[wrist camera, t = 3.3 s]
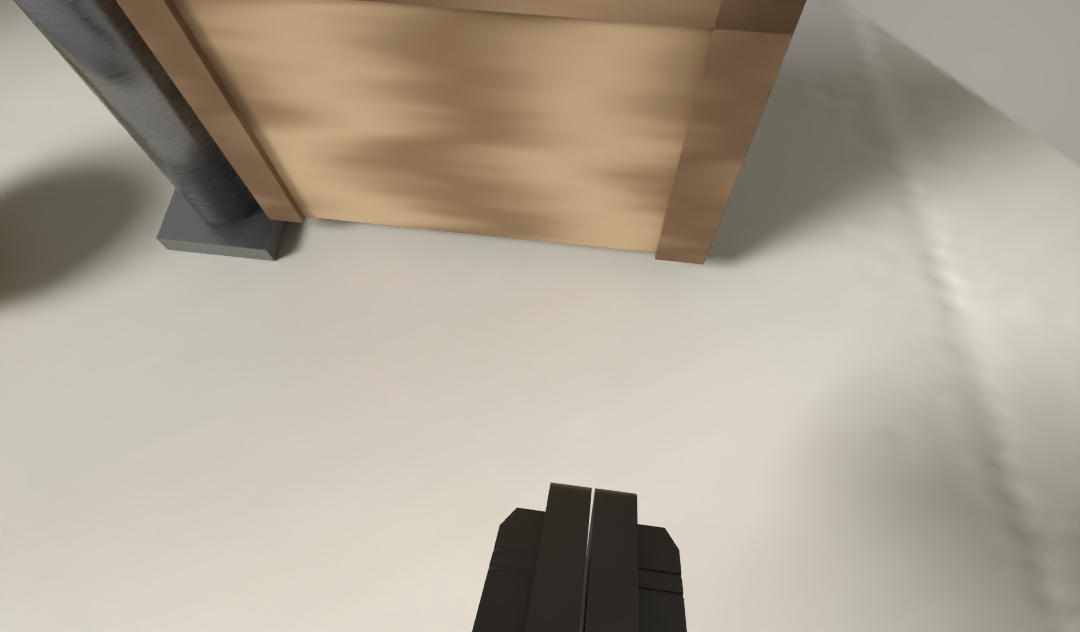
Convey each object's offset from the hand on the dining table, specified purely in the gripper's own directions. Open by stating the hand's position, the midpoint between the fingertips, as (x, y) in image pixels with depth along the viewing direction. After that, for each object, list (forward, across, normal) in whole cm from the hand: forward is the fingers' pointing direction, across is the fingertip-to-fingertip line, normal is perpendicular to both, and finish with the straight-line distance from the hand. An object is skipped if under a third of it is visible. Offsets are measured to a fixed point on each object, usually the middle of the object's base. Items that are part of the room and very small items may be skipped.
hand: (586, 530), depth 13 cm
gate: (+14, +4, -2) cm, 15 cm away
